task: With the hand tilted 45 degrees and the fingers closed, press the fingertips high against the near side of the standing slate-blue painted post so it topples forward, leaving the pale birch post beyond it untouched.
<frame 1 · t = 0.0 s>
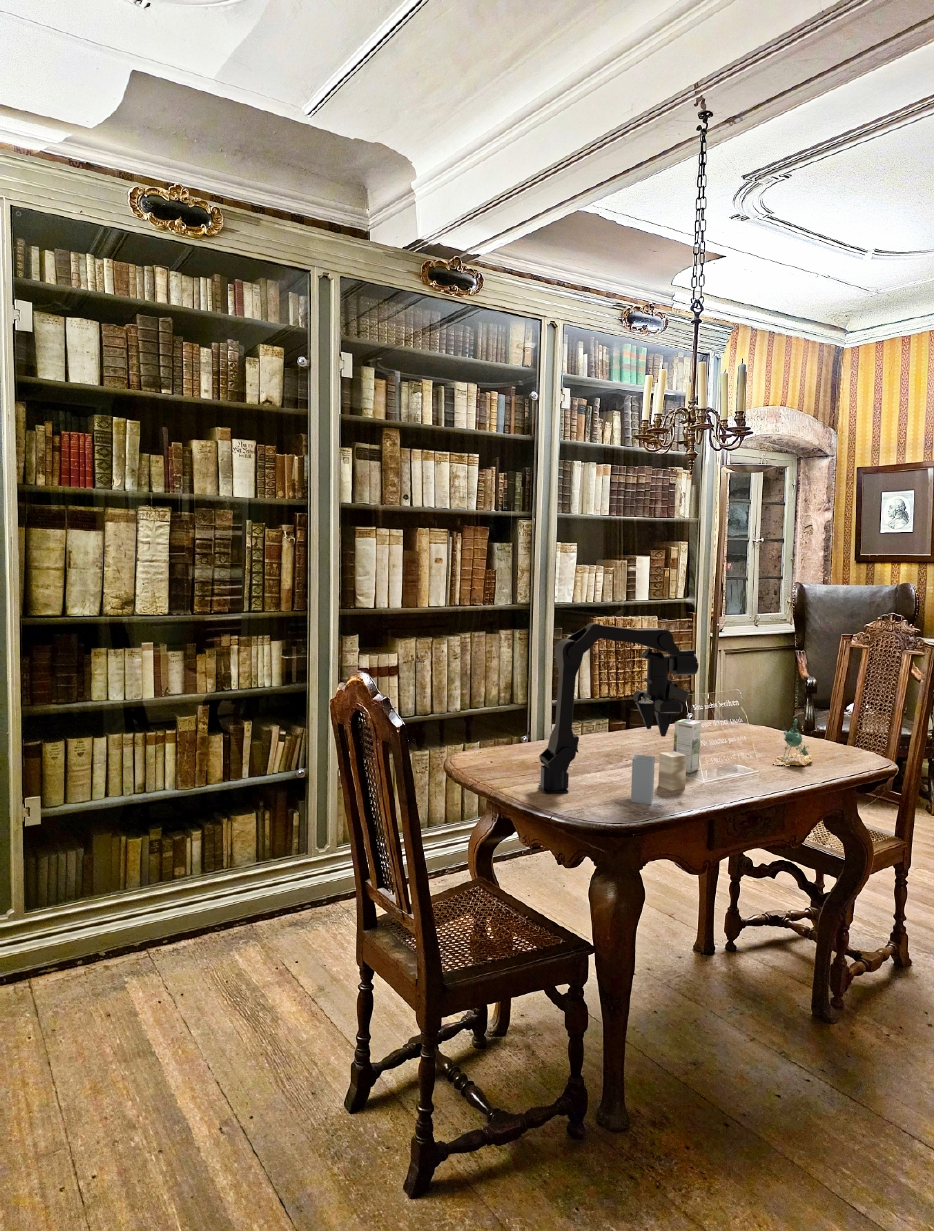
hand: (655, 732, 218), 15 cm above the table, fingers open, 9 cm apart
syrup box: (685, 770, 237), on the table
frog figurine: (795, 764, 248), on the table
birch post: (671, 786, 219), on the table
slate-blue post: (642, 800, 206), on the table
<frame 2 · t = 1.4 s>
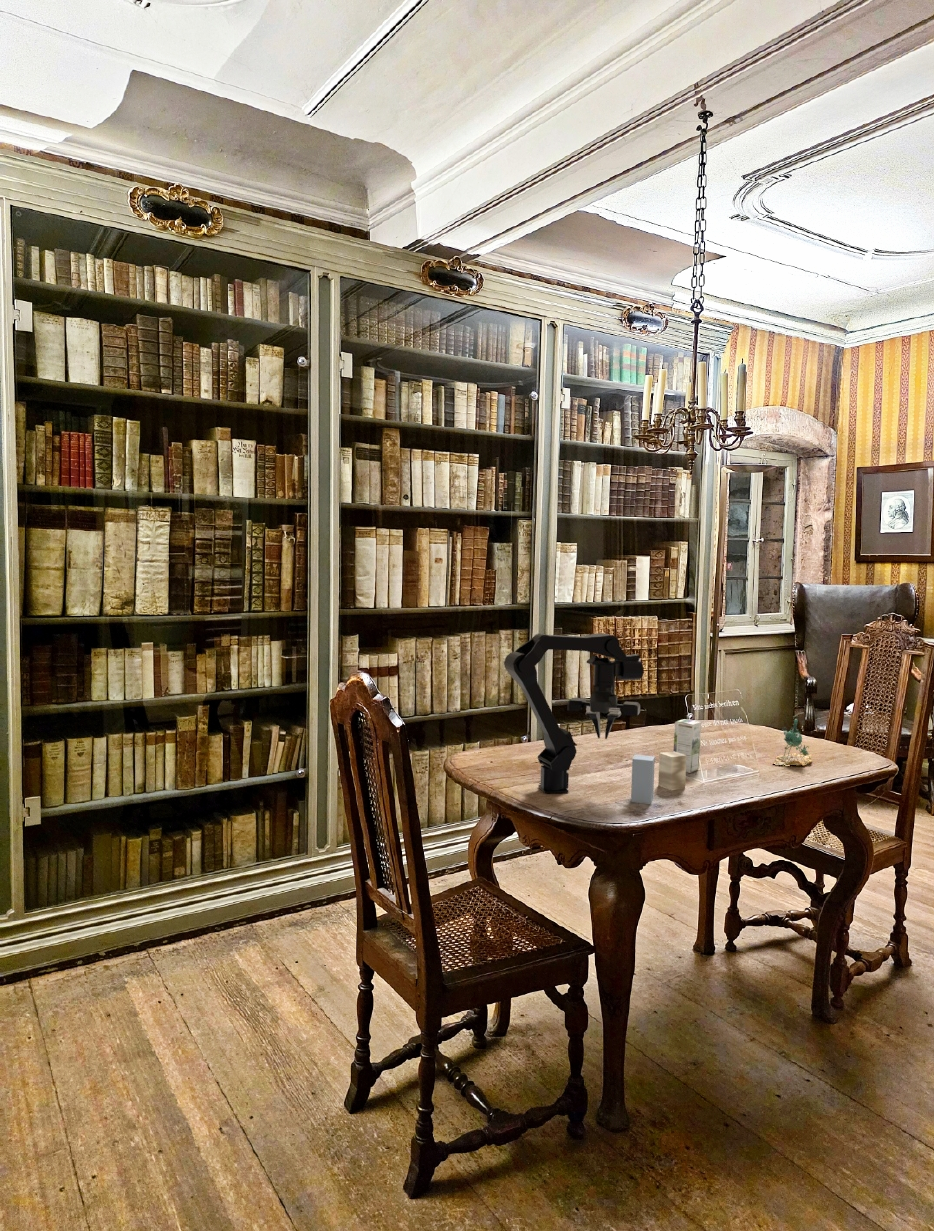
hand: (602, 738, 217), 13 cm above the table, fingers closed
nothing on the table moved.
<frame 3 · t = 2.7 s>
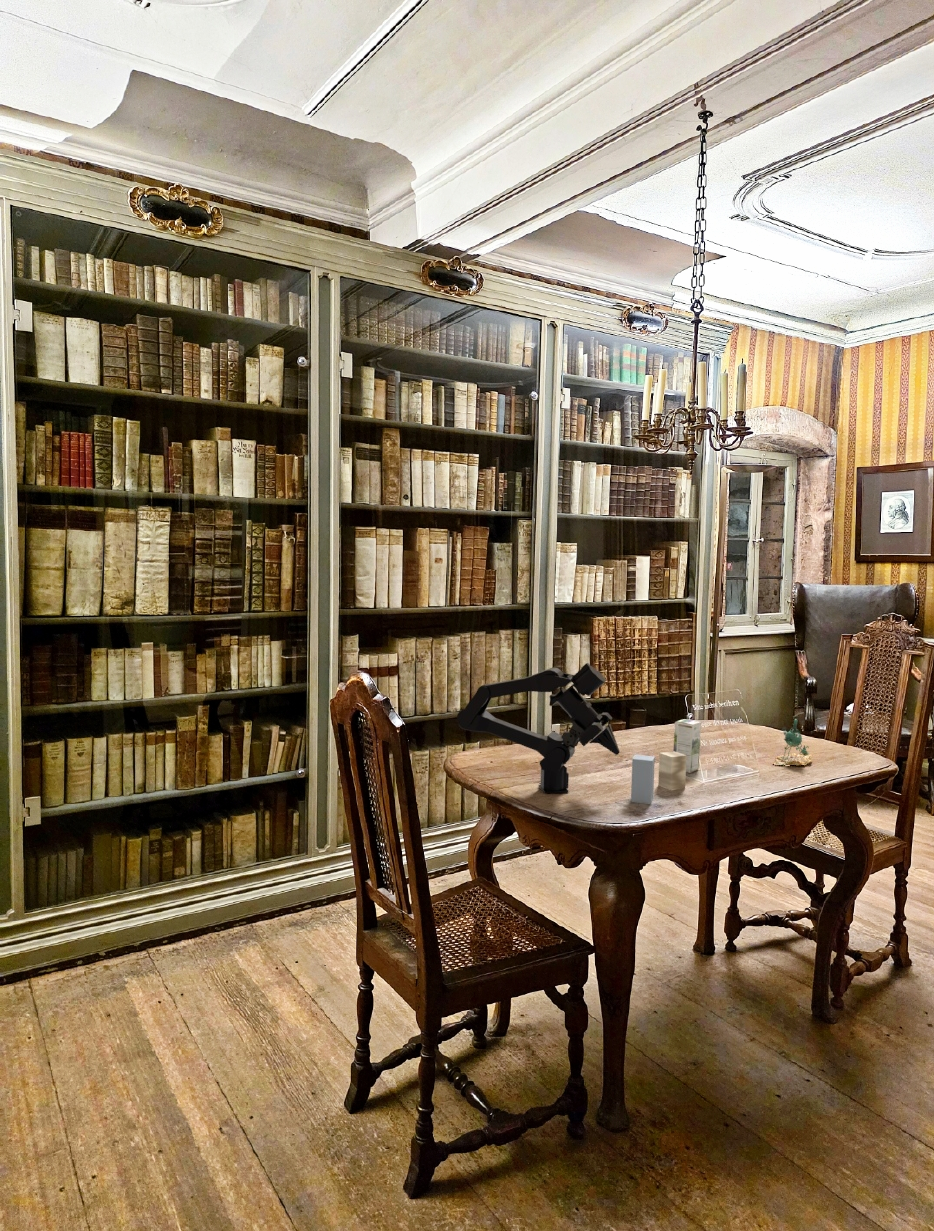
hand: (618, 753, 207), 11 cm above the table, fingers closed
nothing on the table moved.
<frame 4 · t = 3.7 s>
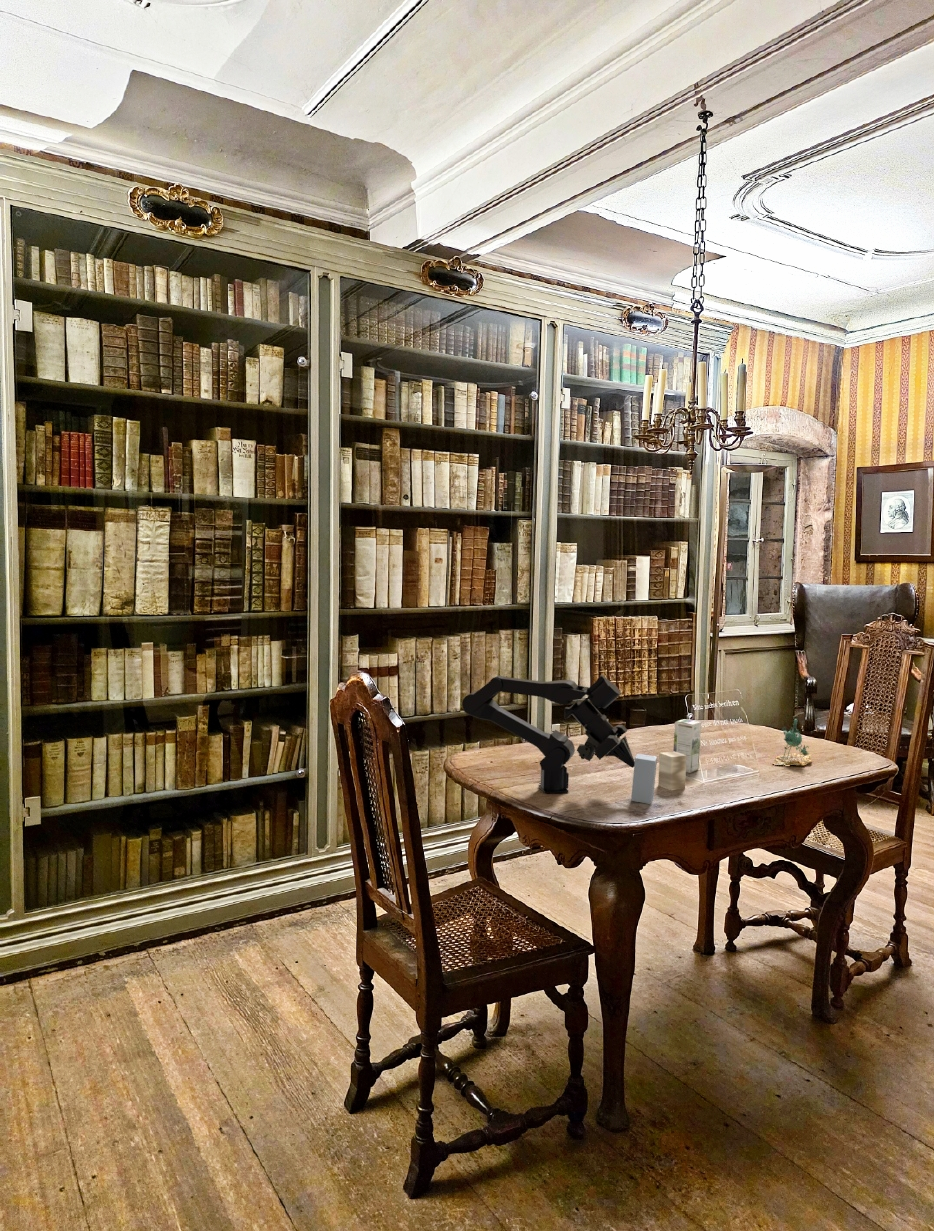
hand: (634, 766, 206), 8 cm above the table, fingers closed
nothing on the table moved.
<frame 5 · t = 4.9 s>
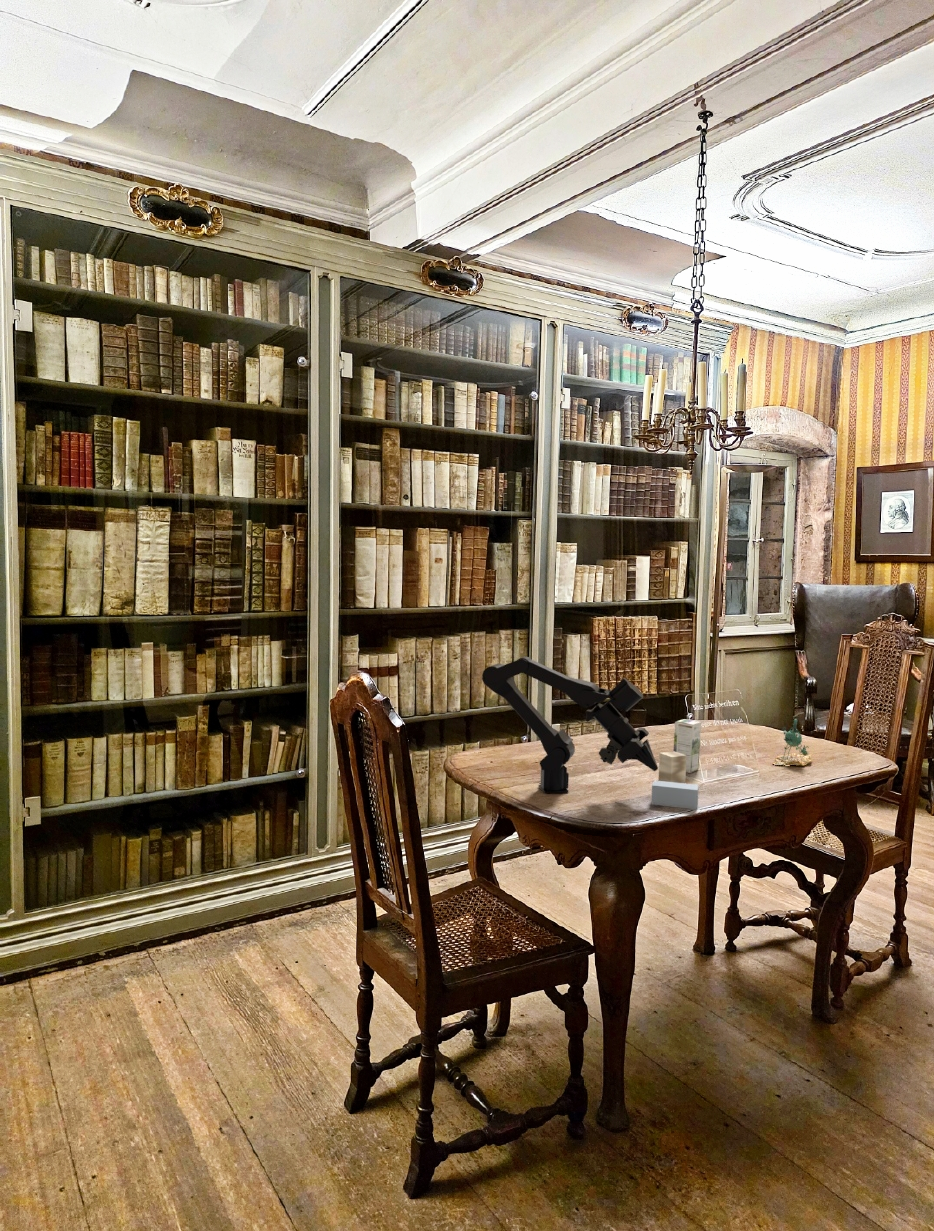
hand: (656, 769, 205), 8 cm above the table, fingers closed
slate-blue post: (652, 792, 205), point 2 cm above the table, tilted 90°
everything else where it was.
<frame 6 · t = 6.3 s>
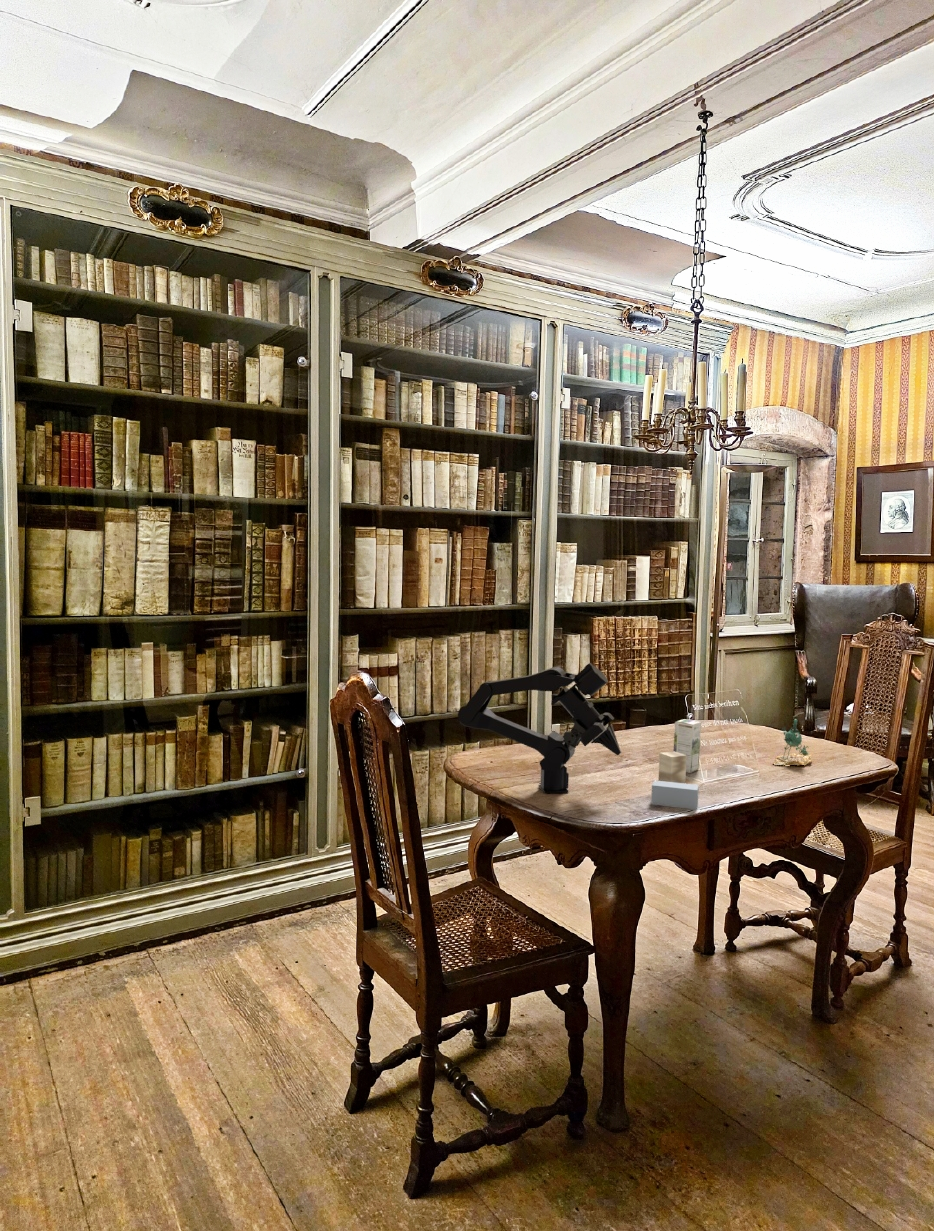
hand: (619, 754, 207), 11 cm above the table, fingers closed
nothing on the table moved.
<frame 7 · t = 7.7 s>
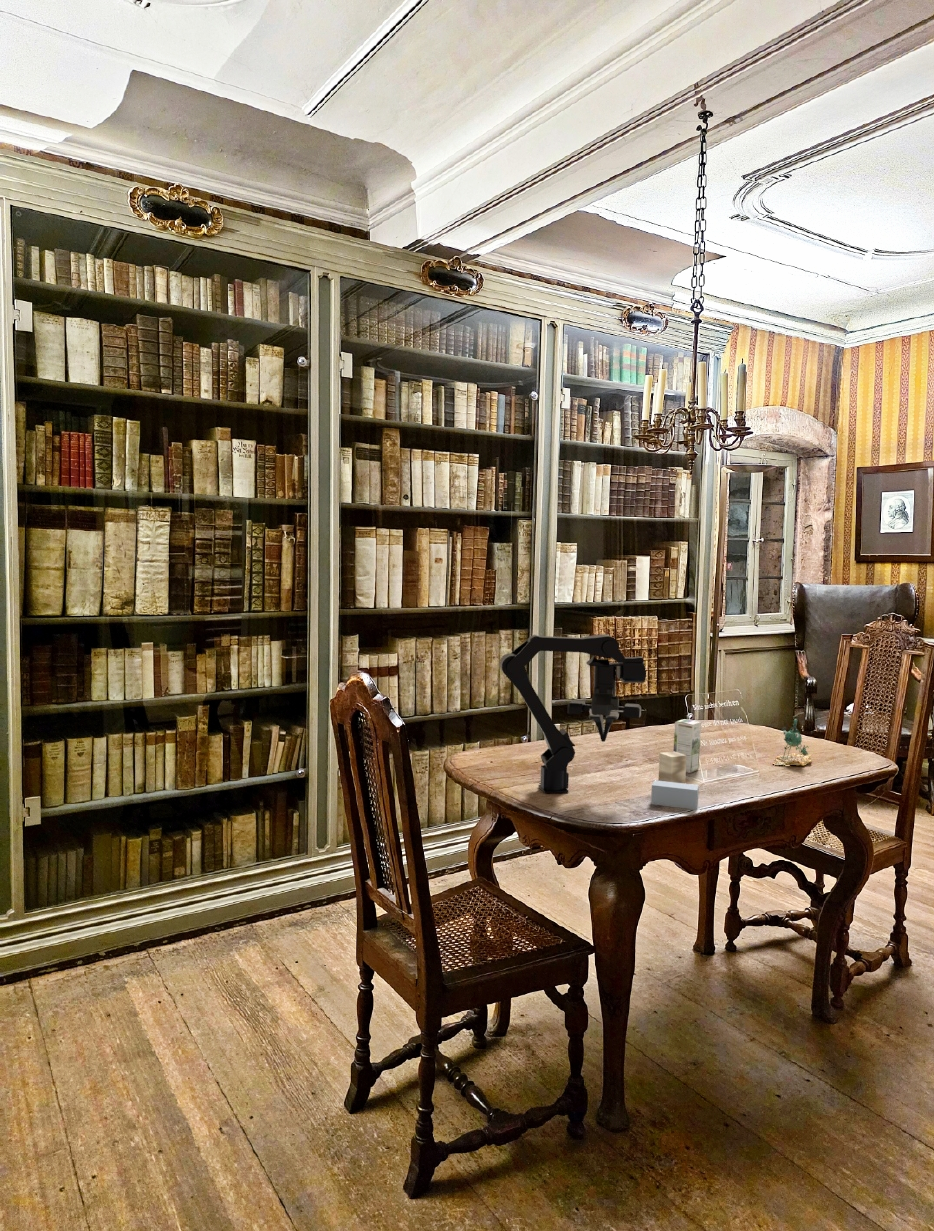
hand: (603, 741, 214), 13 cm above the table, fingers closed
nothing on the table moved.
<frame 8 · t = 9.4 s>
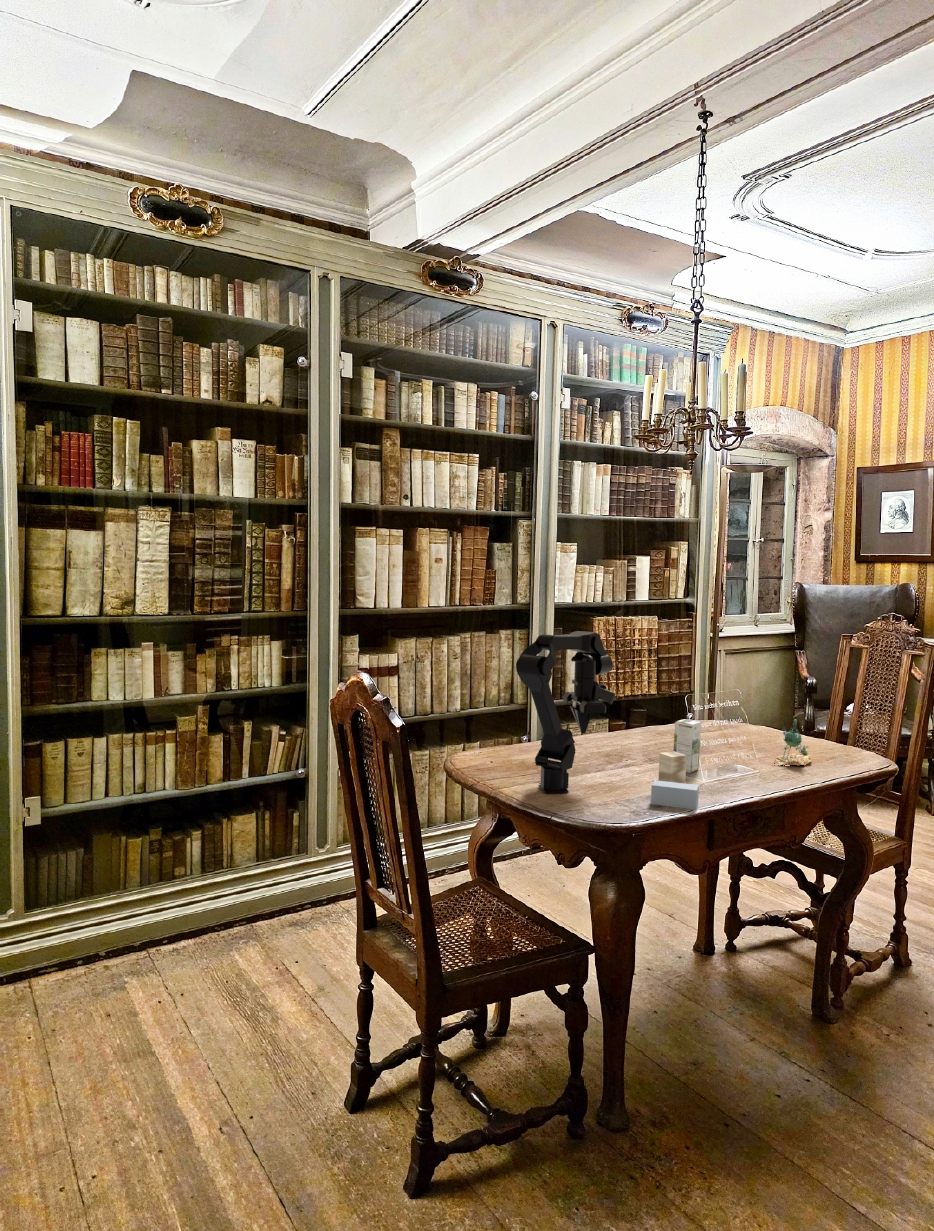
hand: (583, 733, 224), 13 cm above the table, fingers closed
nothing on the table moved.
at the end: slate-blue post tilted 90°; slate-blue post inside the target area (3.6 cm from its centre), point 2.2 cm above the table; birch post moved 0.1 cm from its start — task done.
